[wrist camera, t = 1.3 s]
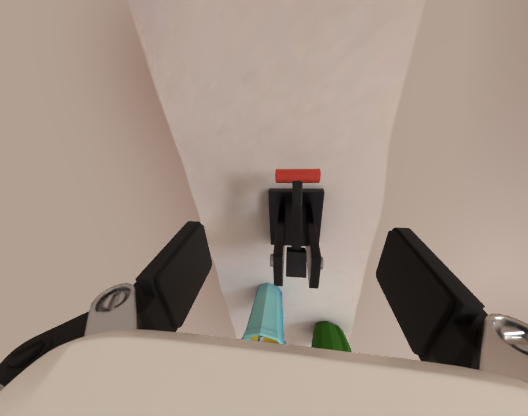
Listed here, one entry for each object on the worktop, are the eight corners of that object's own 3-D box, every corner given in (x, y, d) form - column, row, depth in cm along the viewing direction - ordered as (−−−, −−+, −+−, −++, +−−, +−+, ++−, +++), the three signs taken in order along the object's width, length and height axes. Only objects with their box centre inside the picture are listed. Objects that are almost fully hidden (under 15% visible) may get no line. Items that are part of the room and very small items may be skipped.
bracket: (269, 188, 29) (256, 235, 19) (323, 188, 28) (341, 238, 18) (271, 240, 34) (262, 300, 24) (317, 242, 33) (329, 305, 23)
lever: (276, 171, 24) (275, 167, 21) (318, 170, 23) (321, 166, 21) (275, 268, 24) (273, 275, 22) (316, 271, 23) (319, 278, 21)
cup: (246, 264, 38) (221, 350, 25) (285, 265, 36) (281, 355, 23) (255, 308, 44) (239, 394, 31) (288, 310, 43) (287, 400, 30)
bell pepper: (337, 313, 41) (349, 369, 33) (351, 334, 44) (365, 390, 36) (302, 321, 44) (304, 374, 36) (317, 340, 47) (322, 393, 39)
